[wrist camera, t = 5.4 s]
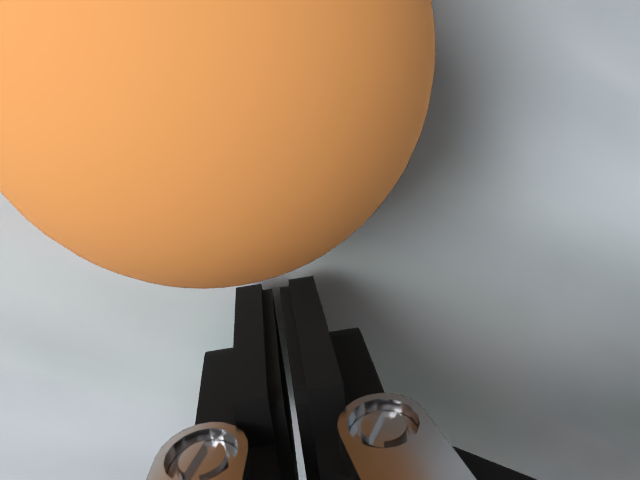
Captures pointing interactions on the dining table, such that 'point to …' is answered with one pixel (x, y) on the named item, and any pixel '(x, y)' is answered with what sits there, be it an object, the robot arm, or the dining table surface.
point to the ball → (208, 127)
